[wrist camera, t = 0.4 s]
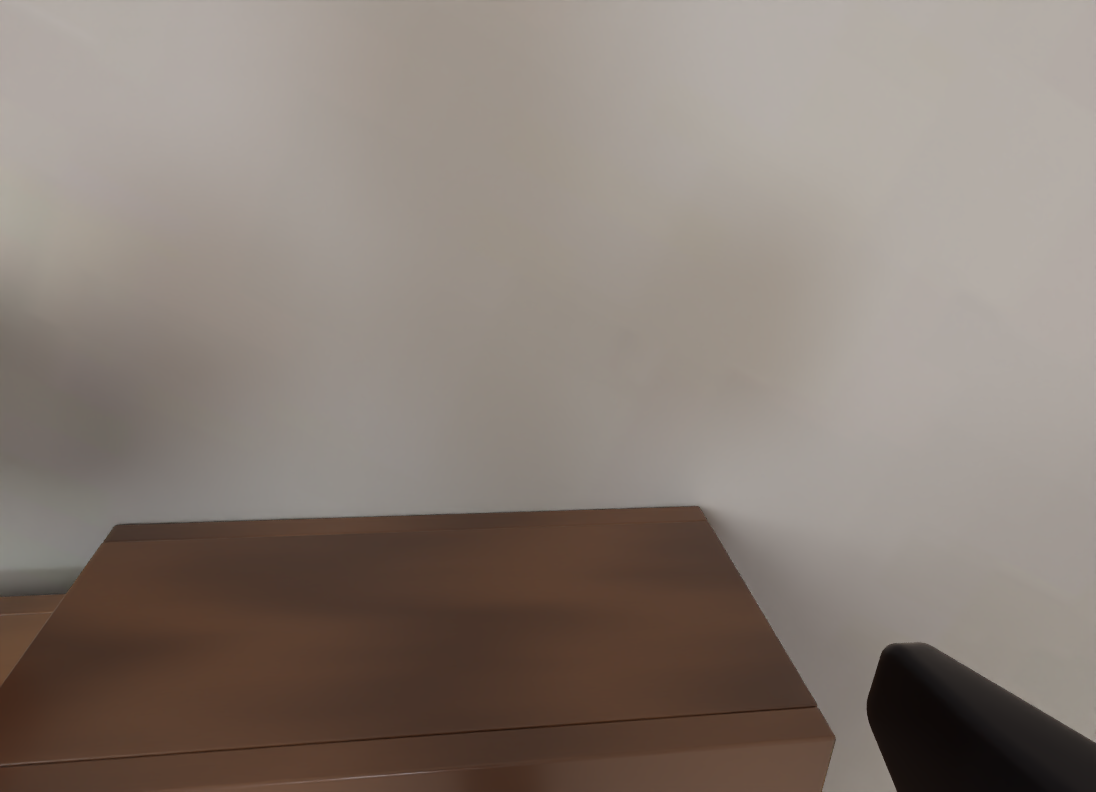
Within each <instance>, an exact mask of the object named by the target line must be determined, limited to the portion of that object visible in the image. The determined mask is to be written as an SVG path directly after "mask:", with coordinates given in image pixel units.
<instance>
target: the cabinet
mask: <svg viewBox="0 0 1096 792" xmlns="http://www.w3.org/2000/svg"><path fill="white" fill-rule="evenodd" d="M835 740H836V739H835V735H834V733H833V732H832V730H831V728H830V727H829V725H828V723H827V721H826V720H825V718H824V716H823V715H822V713H821V711H820V710H819V709H818V708H817V703H816V702H815V700H814V698H813V697H812V695H811V693H810V692H809V690H808V688H807V687H806V685H805V683H804V682H803V680H802V678H801V677H800V675H799V673H798V672H797V670H796V668H795V666H794V665H793V663H792V661H791V660H790V658H789V656H788V655H787V653H786V651H785V650H784V648H783V646H782V645H781V643H780V641H779V640H778V638H777V636H776V635H775V633H774V631H773V630H772V628H771V626H770V624H769V623H768V621H767V619H766V618H765V616H764V614H763V613H762V611H761V609H760V608H759V606H758V604H757V603H756V601H755V599H754V598H753V596H752V594H751V593H750V591H749V589H748V587H747V586H746V584H745V582H744V581H743V579H742V577H741V576H740V574H739V572H738V571H737V569H736V567H735V566H734V564H733V562H732V561H731V559H730V557H729V556H728V554H727V552H726V551H725V549H724V547H723V545H722V544H721V542H720V540H719V539H718V537H717V535H716V534H715V532H714V530H713V529H712V527H711V525H710V524H709V522H708V521H707V519H706V517H705V516H704V514H703V512H702V511H701V509H700V507H698V506H692V507H662V508H631V509H600V510H569V511H538V512H507V513H476V514H446V515H415V516H384V517H353V518H322V519H291V520H260V521H230V522H199V523H168V524H137V525H116V526H114V527H113V529H112V530H111V532H110V533H109V534H108V536H107V537H106V539H105V540H104V542H103V543H102V544H101V545H100V547H99V548H98V549H97V551H96V552H95V554H94V555H93V556H92V558H91V559H90V561H89V562H88V564H87V565H86V566H85V568H84V569H83V571H82V572H81V573H80V575H79V576H78V578H77V579H76V580H75V582H74V583H73V585H72V586H71V587H70V589H69V590H68V592H67V593H66V594H65V596H64V597H63V599H62V600H61V601H60V603H59V604H58V606H57V607H56V609H55V610H54V611H53V613H52V614H51V616H50V617H49V618H48V620H47V621H46V623H45V624H44V625H43V627H42V628H41V630H40V631H39V632H38V634H37V635H36V637H35V638H34V639H33V641H32V642H31V644H30V645H29V646H28V648H27V649H26V651H25V652H24V654H23V655H22V656H21V658H20V659H19V661H18V662H17V663H16V665H15V666H14V668H13V669H12V670H11V672H10V673H9V675H8V676H7V677H6V679H5V680H4V682H3V683H2V684H1V686H0V792H822V788H823V785H824V781H825V777H826V774H827V770H828V766H829V763H830V759H831V755H832V752H833V748H834V744H835Z"/></svg>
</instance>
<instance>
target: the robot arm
mask: <svg viewBox="0 0 1096 792" xmlns="http://www.w3.org/2000/svg"><path fill="white" fill-rule="evenodd" d="M867 716H868V720H869V724H870V727H871V729H872V732H873V734H874V736H875V739H876V741H877V744H878V746H879V749H880V751H881V753H882V756H883V758H884V761H885V763H886V766H887V768H888V770H889V773H890V775H891V778H892V780H893V783H894V785H895V787H896V790H897V792H1096V743H1095V742H1093V741H1091V740H1090V739H1088V738H1086V737H1085V736H1083V735H1081V734H1080V733H1078V732H1076V731H1074V730H1073V729H1071V728H1069V727H1068V726H1066V725H1064V724H1063V723H1061V722H1059V721H1058V720H1056V719H1054V718H1053V717H1051V716H1049V715H1047V714H1046V713H1044V712H1042V711H1041V710H1039V709H1037V708H1036V707H1034V706H1032V705H1031V704H1029V703H1027V702H1025V701H1024V700H1022V699H1020V698H1019V697H1017V696H1015V695H1014V694H1012V693H1010V692H1009V691H1007V690H1005V689H1003V688H1002V687H1000V686H998V685H997V684H995V683H993V682H992V681H990V680H988V679H987V678H985V677H983V676H981V675H980V674H978V673H976V672H975V671H973V670H971V669H970V668H968V667H966V666H965V665H963V664H961V663H959V662H958V661H956V660H954V659H953V658H951V657H949V656H948V655H946V654H944V653H943V652H941V651H939V650H937V649H936V648H934V647H932V646H930V645H929V644H926V643H920V642H914V643H894V644H890V645H888V646H887V647H886V648H885V649H884V650H883V651H882V653H881V656H880V659H879V662H878V666H877V669H876V672H875V676H874V679H873V682H872V685H871V689H870V692H869V695H868V699H867Z"/></svg>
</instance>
